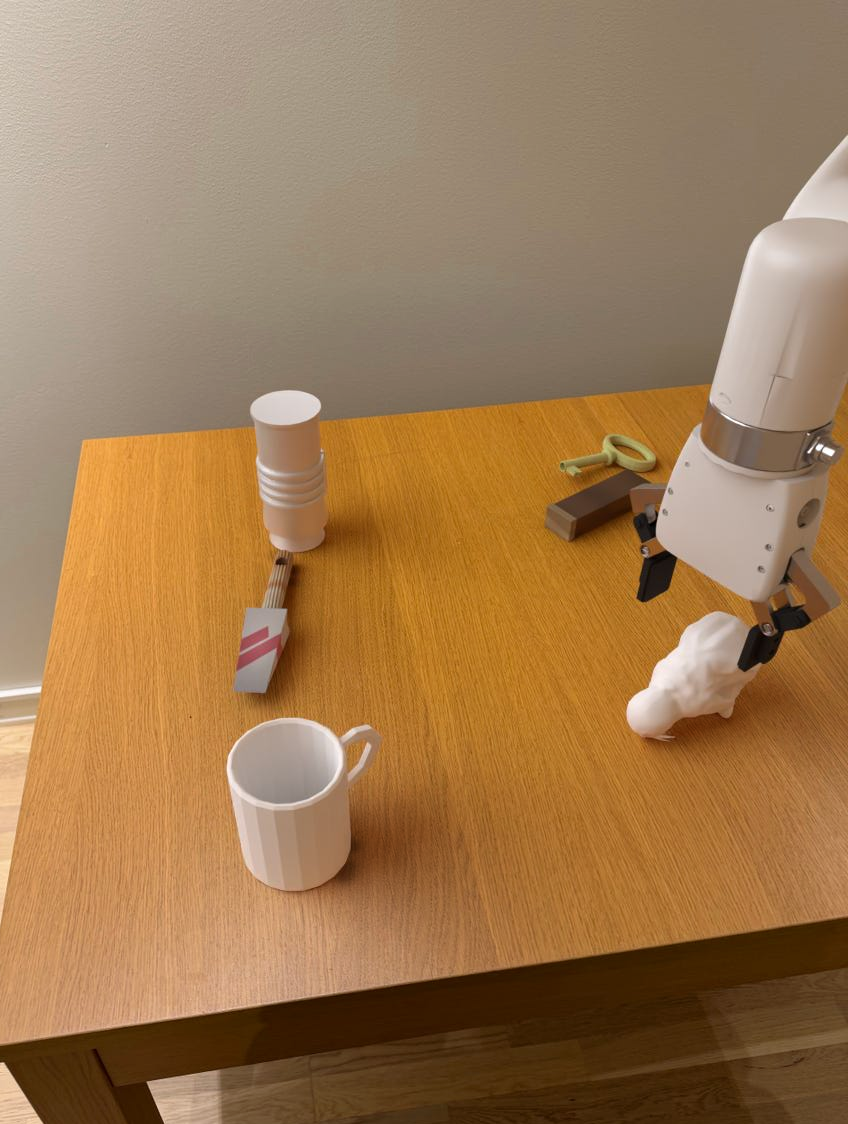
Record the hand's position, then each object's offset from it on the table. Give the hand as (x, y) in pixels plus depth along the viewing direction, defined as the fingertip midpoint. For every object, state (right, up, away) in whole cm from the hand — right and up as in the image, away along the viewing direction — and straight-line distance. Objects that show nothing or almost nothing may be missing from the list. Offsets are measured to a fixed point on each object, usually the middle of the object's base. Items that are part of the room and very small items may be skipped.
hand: (700, 627), depth 71 cm
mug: (-29, -16, -1) cm, 33 cm away
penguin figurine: (0, -7, +7) cm, 10 cm away
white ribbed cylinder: (-33, +10, +27) cm, 44 cm away
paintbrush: (-35, 0, +16) cm, 38 cm away
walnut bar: (-1, +13, +28) cm, 31 cm away
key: (+2, +19, +36) cm, 41 cm away
